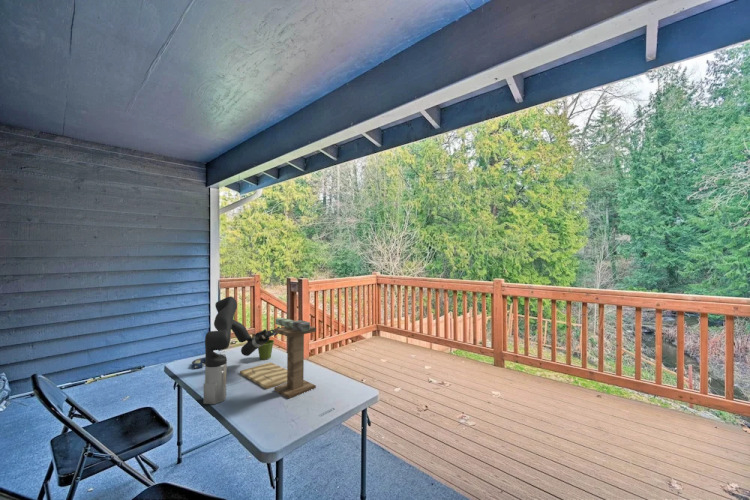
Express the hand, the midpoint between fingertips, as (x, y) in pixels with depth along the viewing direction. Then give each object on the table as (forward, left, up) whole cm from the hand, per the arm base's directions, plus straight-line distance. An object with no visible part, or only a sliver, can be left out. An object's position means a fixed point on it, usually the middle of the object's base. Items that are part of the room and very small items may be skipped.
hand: (272, 329), depth 174 cm
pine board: (+2, +3, -28) cm, 28 cm away
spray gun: (+16, +51, -28) cm, 60 cm away
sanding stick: (-11, -16, +4) cm, 20 cm away
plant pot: (+31, +20, -28) cm, 46 cm away
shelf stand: (-13, -19, -28) cm, 36 cm away
